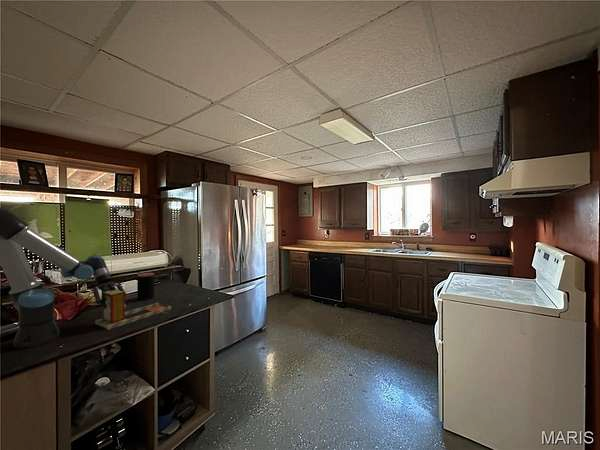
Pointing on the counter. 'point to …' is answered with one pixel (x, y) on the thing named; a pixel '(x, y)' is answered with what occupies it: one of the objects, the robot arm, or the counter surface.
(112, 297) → the baking soda box
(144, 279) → the coffee jar
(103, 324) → the pad
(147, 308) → the channel
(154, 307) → the trap pad
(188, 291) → the counter surface
